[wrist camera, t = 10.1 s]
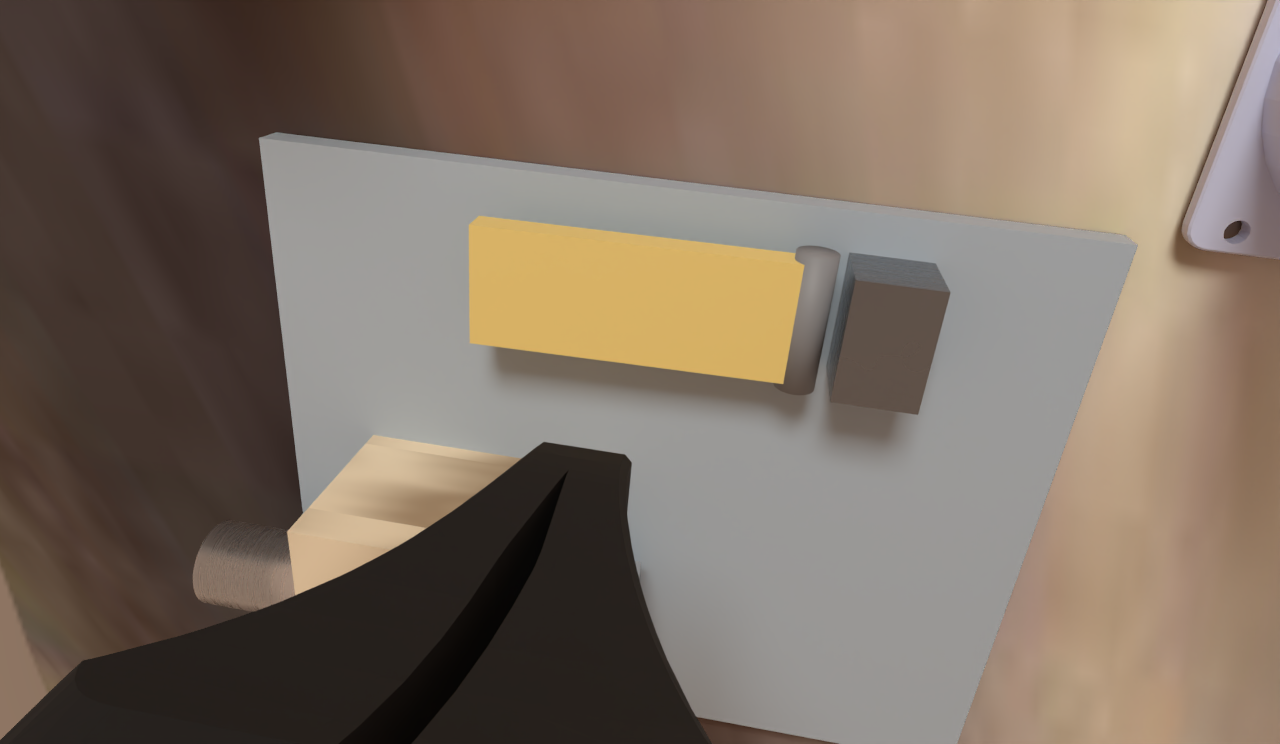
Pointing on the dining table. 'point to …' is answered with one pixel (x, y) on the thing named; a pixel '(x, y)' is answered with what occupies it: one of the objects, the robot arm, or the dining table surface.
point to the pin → (247, 566)
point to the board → (718, 419)
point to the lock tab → (651, 300)
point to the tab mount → (886, 332)
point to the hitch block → (384, 504)
